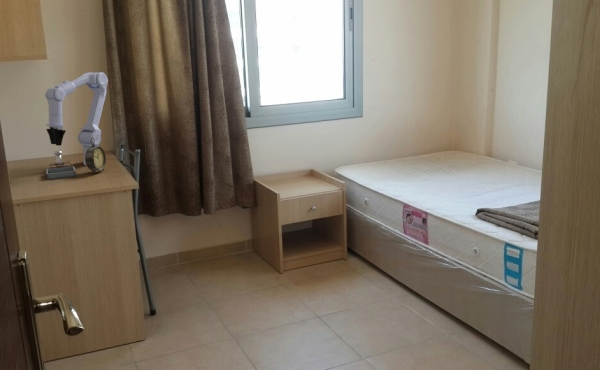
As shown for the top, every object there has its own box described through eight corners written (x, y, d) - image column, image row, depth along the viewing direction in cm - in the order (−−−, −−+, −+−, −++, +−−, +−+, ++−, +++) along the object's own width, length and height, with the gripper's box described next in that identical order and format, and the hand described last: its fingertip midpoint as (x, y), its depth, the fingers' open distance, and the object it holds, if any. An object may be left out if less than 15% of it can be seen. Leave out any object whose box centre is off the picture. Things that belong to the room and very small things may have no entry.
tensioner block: (49, 169, 295) (48, 163, 295) (70, 167, 299) (69, 161, 298) (50, 173, 287) (49, 167, 287) (71, 171, 291) (70, 164, 290)
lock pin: (56, 170, 294) (53, 151, 292) (64, 169, 295) (61, 150, 293) (56, 171, 291) (54, 152, 289) (64, 170, 292) (61, 151, 290)
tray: (46, 174, 285) (46, 169, 285) (74, 171, 290) (74, 166, 289) (47, 179, 276) (46, 174, 275) (76, 176, 280) (75, 171, 279)
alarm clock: (95, 175, 281) (91, 139, 277) (84, 175, 282) (80, 139, 278) (107, 169, 291) (103, 135, 287) (97, 169, 292) (93, 135, 288)
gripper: (41, 113, 288) (42, 143, 289) (50, 115, 276) (51, 146, 278) (57, 114, 292) (58, 143, 294) (67, 115, 280) (67, 145, 282)
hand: (56, 144), depth 286 cm, fingers open, 7 cm apart
